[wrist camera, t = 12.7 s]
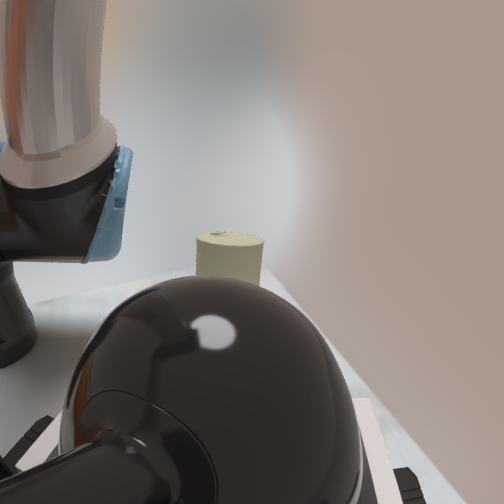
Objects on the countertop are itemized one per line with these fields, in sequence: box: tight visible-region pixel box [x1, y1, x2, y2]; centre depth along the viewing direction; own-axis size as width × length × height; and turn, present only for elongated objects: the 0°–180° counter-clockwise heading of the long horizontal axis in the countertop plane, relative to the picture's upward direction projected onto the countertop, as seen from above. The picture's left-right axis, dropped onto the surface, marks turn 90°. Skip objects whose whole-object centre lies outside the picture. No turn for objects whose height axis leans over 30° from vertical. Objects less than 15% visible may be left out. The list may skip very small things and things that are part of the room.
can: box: [196, 232, 264, 286], centre depth 43 cm, size 9×9×12 cm
